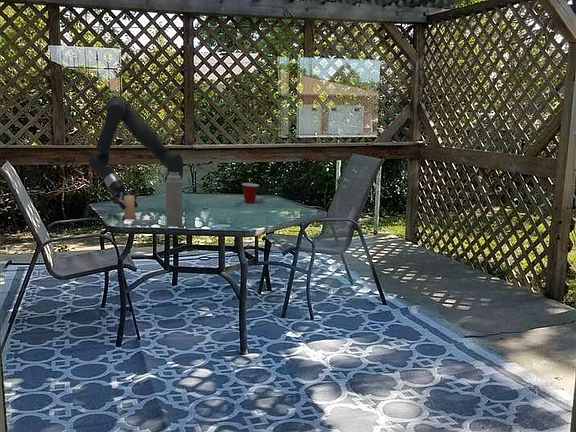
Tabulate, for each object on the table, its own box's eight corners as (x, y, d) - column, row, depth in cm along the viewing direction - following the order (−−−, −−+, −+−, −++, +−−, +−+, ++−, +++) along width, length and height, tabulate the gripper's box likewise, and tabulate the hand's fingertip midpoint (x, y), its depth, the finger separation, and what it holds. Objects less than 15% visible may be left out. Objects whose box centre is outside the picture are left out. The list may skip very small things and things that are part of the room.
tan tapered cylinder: (134, 217, 328) (133, 195, 326) (135, 219, 323) (134, 196, 321) (124, 217, 326) (123, 195, 324) (124, 219, 322) (124, 196, 319)
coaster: (154, 220, 321) (154, 219, 321) (157, 224, 310) (157, 223, 310) (130, 221, 317) (130, 220, 317) (132, 225, 306) (132, 224, 306)
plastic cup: (258, 204, 379) (258, 185, 377) (240, 204, 379) (240, 184, 377) (259, 201, 390) (259, 182, 388) (242, 201, 390) (242, 182, 388)
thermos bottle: (167, 223, 314) (166, 168, 309) (183, 223, 314) (183, 168, 309) (165, 226, 306) (164, 170, 301) (181, 226, 306) (180, 170, 301)
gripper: (121, 187, 335) (136, 210, 331) (100, 190, 323) (116, 214, 319) (127, 178, 331) (144, 201, 327) (107, 180, 319) (124, 204, 315)
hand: (130, 207), depth 323 cm, fingers open, 8 cm apart
